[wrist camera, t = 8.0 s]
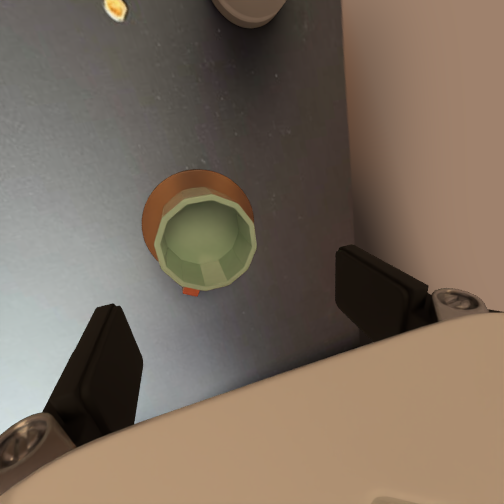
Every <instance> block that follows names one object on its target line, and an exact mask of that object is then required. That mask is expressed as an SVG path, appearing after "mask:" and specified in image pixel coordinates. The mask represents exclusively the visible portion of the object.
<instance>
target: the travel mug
mask: <svg viewBox="0 0 504 504" xmlns="http://www.w3.org/2000/svg"><path fill="white" fill-rule="evenodd" d="M212 1H213V3H214V5H215V7H216V8H217V9H218V10H219V11H220V13H221V14H222V15H223V16H224V17H225V18H227V19H228V20H229V21H230V22H232V23H234V24H236V25H237V26H241V27H244V28H257V27H261V26H263V25H265V24H267V23H268V22H269V21H270V20H272V19H273V18H274V17H275V15H276V14H277V13H278V11H279V10H280V8H281V7H282V6H283V4H284V3H285V2H286V0H212Z"/></svg>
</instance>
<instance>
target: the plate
mask: <svg viewBox="0 0 504 504" xmlns="http://www.w3.org/2000/svg"><path fill="white" fill-rule="evenodd" d="M195 187H208V188H211V189H214V190H216V191H219V192H221V193H223V194H226V195H227V196H229V197H230V198H231V199H232V200H234V201H235V202H236V203H238V204H239V205H240V207H241V208H242V209H243V210H244V212H245V213H246V214H247V215H248V217H249V218H250V219H251V220H252V222H253V224H254V217H253V211H252V207H251V205H250V202H249V200H248V198H247V197H246V195H245V193H244V192H243V191H242V189H241V188H240V187H239V186H238V185H237V184H236V183H234V182H233V181H232V180H230V179H229V178H227V177H225V176H223V175H221V174H219V173H216V172H213V171H209V170H202V169H193V170H186V171H182V172H179V173H176V174H174V175H172V176H170V177H168V178H167V179H165V180H164V181H162V182H161V183H160V184H159V185H158V186H157V187H156V188H155V189H154V190H153V192H152V193H151V195H150V196H149V198H148V200H147V202H146V204H145V207H144V211H143V215H142V232H143V236H144V240H145V243H146V245H147V247H148V249H149V251H150V252H151V254H152V255H153V256H154V257H155V259H156V260H157V261H158V262H159V260H158V257H157V254H156V250H155V247H154V241H155V236H156V231H157V227H158V223H159V220H160V216H161V213H162V210H163V207H164V205H165V204H167V203H168V201H169V200H170V199H171V198H172V197H174V196H175V195H176V194H178V193H179V192H181V191H182V190H186V189H190V188H195Z"/></svg>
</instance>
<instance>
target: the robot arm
mask: <svg viewBox="0 0 504 504" xmlns="http://www.w3.org/2000/svg"><path fill="white" fill-rule="evenodd" d="M427 291H428V285H426V284H424V283H423V282H421V281H419V280H417V279H415V278H413V277H412V276H410V275H408V274H406V273H404V272H402V271H401V270H399V269H397V268H395V267H393V266H391V265H390V264H388V263H386V262H384V261H382V260H380V259H379V258H377V257H375V256H373V255H371V254H369V253H368V252H366V251H364V250H362V249H360V248H358V247H356V246H355V245H347V246H343V247H340V248H339V250H338V251H337V252H336V270H335V301H336V304H337V306H338V308H339V309H340V310H341V311H342V312H343V313H344V314H345V315H346V316H347V317H348V318H349V319H350V320H351V321H352V322H353V323H355V324H356V325H357V326H358V327H359V328H360V329H361V330H362V331H363V332H364V333H365V334H366V335H367V336H368V337H369V338H370V339H371V340H372V341H373V342H374V343H371V344H368V345H365V346H362V347H359V348H356V349H353V350H350V351H347V352H344V353H341V354H338V355H335V356H332V357H329V358H326V359H323V360H320V361H317V362H314V363H311V364H308V365H305V366H302V367H299V368H296V369H293V370H290V371H287V372H284V373H281V374H278V375H275V376H273V377H270V378H267V379H264V380H261V381H258V382H255V383H252V384H249V385H246V386H243V387H240V388H237V389H234V390H232V391H229V392H226V393H223V394H220V395H217V396H214V397H211V398H208V399H205V400H203V401H200V402H197V403H194V404H191V405H188V406H185V407H182V408H179V409H176V410H174V411H171V412H168V413H165V414H162V415H159V416H156V417H153V418H151V419H148V420H145V421H142V422H139V423H137V424H134V421H135V415H136V408H137V402H138V396H139V389H140V383H141V376H142V370H143V358H142V355H141V353H140V350H139V348H138V346H137V343H136V341H135V338H134V336H133V334H132V331H131V329H130V326H129V324H128V322H127V319H126V317H125V315H124V312H123V310H122V308H121V306H116V305H115V304H109V305H105V306H101V307H97V308H96V309H95V311H94V313H93V315H92V317H91V319H90V321H89V323H88V325H87V327H86V329H85V331H84V333H83V335H82V337H81V339H80V341H79V343H78V345H77V347H76V349H75V350H74V352H73V353H72V355H71V357H70V359H69V361H68V363H67V365H66V367H65V369H64V371H63V373H62V375H61V377H60V379H59V380H58V382H57V384H56V386H55V388H54V390H53V392H52V394H51V396H50V398H49V400H48V402H47V404H46V406H45V408H44V410H43V412H42V413H37V414H33V415H31V416H28V417H26V418H24V419H22V420H20V421H19V422H17V423H15V424H14V425H12V426H11V427H10V428H8V429H7V430H6V431H5V432H3V433H2V434H1V435H0V504H504V312H500V311H494V310H488V309H487V307H486V305H485V303H484V302H483V301H482V300H481V299H480V298H479V297H477V296H476V295H474V294H471V293H469V292H466V291H462V290H459V289H453V288H443V289H438V290H435V291H434V292H433V293H432V295H430V294H428V293H427Z"/></svg>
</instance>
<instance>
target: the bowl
mask: <svg viewBox="0 0 504 504" xmlns="http://www.w3.org/2000/svg"><path fill="white" fill-rule="evenodd" d="M154 247H155V250H156V254H157V257H158V260H159V264H160V267H161V269H162V270H163V271H164V272H165V273H166V274H167V275H168V276H170V277H171V278H172V279H173V280H174V281H175V282H176V283H178V284H179V285H180V286H183V287H182V291H183V294H187V295H192V296H198V294H199V291H200V290H202V291H208V290H212V289H216V288H220V287H224V286H228V285H230V284H231V283H232V282H234V281H235V280H236V279H237V278H238V277H239V276H241V275H242V274H243V273H244V272H245V271H246V270H247V269H248V268H249V265H250V263H251V260H252V258H253V256H254V253H255V251H256V248H257V244H256V236H255V228H254V224H253V222H252V220H251V219H250V218H249V217H248V215H247V214H246V213H245V212H244V210H243V209H242V208H241V207H240V205H239V204H238V203H236V202H235V201H234V200H232V199H231V198H230V197H229V196H227V195H226V194H223V193H221V192H219V191H216V190H214V189H211V188H208V187H195V188H190V189H186V190H182V191H181V192H179V193H178V194H176V195H175V196H174V197H172V198H171V199H170V200H169V201H168V203H167V204H165V205H164V207H163V210H162V213H161V216H160V220H159V223H158V227H157V231H156V236H155V241H154Z"/></svg>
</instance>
